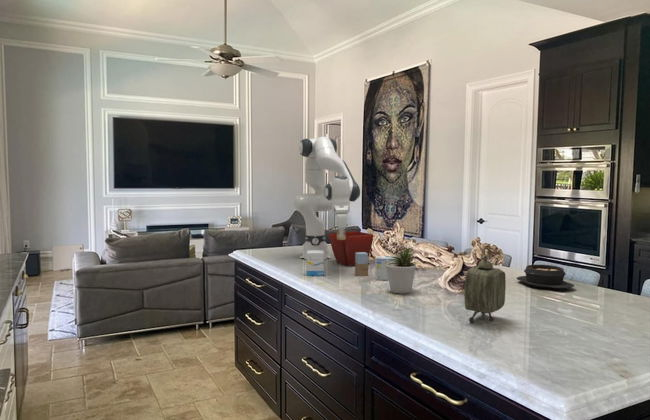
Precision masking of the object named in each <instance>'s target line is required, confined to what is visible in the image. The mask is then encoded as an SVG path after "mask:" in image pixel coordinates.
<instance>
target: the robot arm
mask: <svg viewBox="0 0 650 420" xmlns="http://www.w3.org/2000/svg"><path fill="white" fill-rule="evenodd" d="M298 150H299V153H300V155H301V156H302V157H305V164H304V165H305V169H304V170H305V171H304V174H305V178H304V179H305V184H306V185H307V186H308V187H310V188H312V189H313V191H314V193H307V192H306V193H300V194H297V195H296V196H295V198H294V200H293V205H294V208H295V209H296V211H298V213H300V215H302V217H303V218H304V222H305V237H304V239H305V242H304V243H303V244H302V255H300V256H299V259H301V258H304V259H303V260H307V251H311V250H322V251H324V260H327V258H329V259H332V255H330V254H329V245H328V243H327V242H326V239H327V238H326V233H325V227H326V226H325V221H324V220H323V219H322V218H320V217H318V216H317V214H316V213H317V212H327V211H331V212H332V213H334V216H336V226H337V228H338V229H339V232H340V237H343V232H344V229H345V230H346V228H347V221H348V214H349V213H350V212H351V202H354V203H355V202H356V201H357V200H358V199H359V198H360V196H361V188H360V186H359V184H358V183H357V182H356V180H355V178H354V176H353V175H352V173H351V170H350V168H349V166H348V165H347V163H346V162H345V161H344V160H343V159H342V158H341V157H340V156H339V155H338V153H337V150H338V144H337V141H336V140H335V139H333V138H329V137H327V136H319V137H315V138H303V139H302V140H301V141H299V147H298ZM325 170H326V171H331V172H334V173H336V174H338V175H336V176H333V178H332V181H331V182H328V183H327V184H326V181H325Z"/></svg>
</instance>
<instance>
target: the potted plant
mask: <svg viewBox="0 0 650 420" xmlns="http://www.w3.org/2000/svg"><path fill="white" fill-rule="evenodd" d="M407 245H408V244H407ZM407 245H406V246H405V248H403V251H402V249H401V247H399V246H397V247H398V249H399V251H400V252H398V251H396V250H395V252H396V253H397V254H399V255H397V254H396V255H395V256H397V257H392V258H395V259H389V260H391V261H394V260H395V261H394V262H391V263H387V264H386V268H387V272H388V278H389V280H388V286H389V290H390V292H392V293H394V294H399V295H400V294H401V295H403V294H409V293H411V292H412V290H413V284H414V278H415V273H416V269H417V268H416V267H417V264H419V262H418V261H419V260H416V261H414V262H413V259H411V257H412V256H413V254H414V253H416V251H417V250H415V251H414V252H412V253H411V244H409V247H408V248H407ZM396 261H397V262H396Z"/></svg>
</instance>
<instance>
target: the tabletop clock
mask: <svg viewBox="0 0 650 420" xmlns="http://www.w3.org/2000/svg"><path fill="white" fill-rule="evenodd" d="M486 250H487V252H488V253H487V255H484V256H483V254H484V252H485V251H486ZM480 253H481V254H480V255H481V256H480V258H481V261H479V263H478V264H477V266H473V267H470V268H469V269H468V270H467V271H466V272H465V277H464V291H463V292H464V294H463V295H464V296H463V297H464V308H465V310H467V311H474V312H473V315H472V316H471V317H469V318H468V321H469V322H470V323H473V322H474V318H475V316H476V315H478V314H479V313H480V314H481V315H483V316H484V315H486V314H488V316H489V317H488V321H490V322H493V321H494V317H493V316H492V314H491V313H495V312H498V311H499V310H500V309H502V308H503V307H504V306H505V303H506V289H507V288H506V287H507V286H506V284H507V283H506V281H507V280H506V279H507V278H506V272H505V271H503V270H501V269H500V268H497V267H494V266H493V263H492V262H491V261H489V257H490V255H491V254H490V253H491V250H490V248H489V247H483V248H482V250H481V252H480Z"/></svg>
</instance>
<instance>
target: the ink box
mask: <svg viewBox="0 0 650 420" xmlns="http://www.w3.org/2000/svg"><path fill="white" fill-rule="evenodd" d="M324 272H325V259H324V251H322V250H311V251H307V259H306V276H307V277H324V275H325V274H324ZM312 275H313V276H312Z"/></svg>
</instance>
